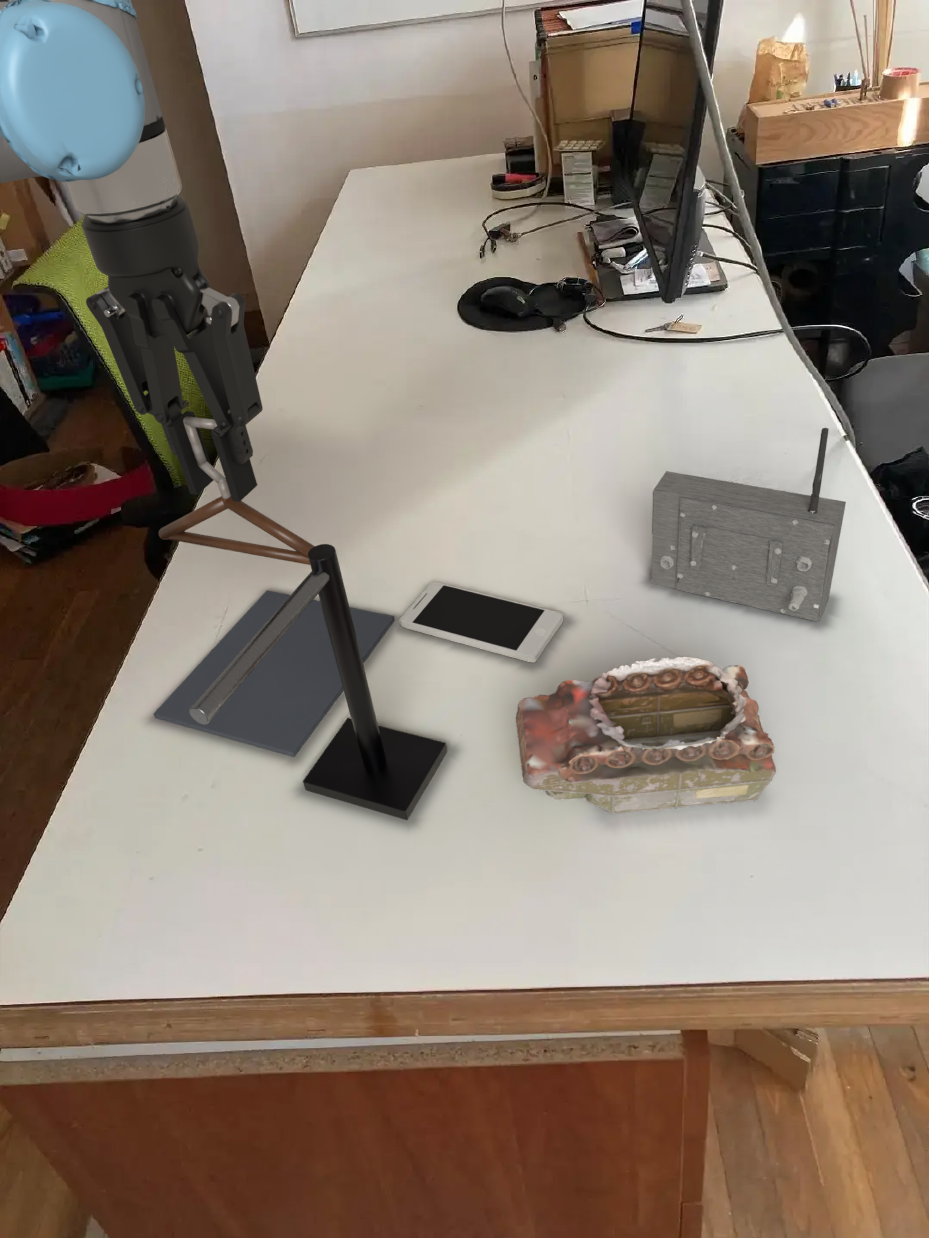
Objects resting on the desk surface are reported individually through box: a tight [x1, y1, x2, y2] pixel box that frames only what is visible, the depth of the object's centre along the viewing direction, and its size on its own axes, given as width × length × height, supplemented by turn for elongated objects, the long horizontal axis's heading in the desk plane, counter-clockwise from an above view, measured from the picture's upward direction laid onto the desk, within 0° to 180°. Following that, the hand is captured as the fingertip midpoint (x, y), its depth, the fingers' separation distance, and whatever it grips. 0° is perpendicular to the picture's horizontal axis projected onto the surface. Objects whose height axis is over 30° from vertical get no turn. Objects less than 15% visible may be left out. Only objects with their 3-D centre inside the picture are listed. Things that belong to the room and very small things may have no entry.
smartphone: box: [399, 581, 564, 663], centre depth 95 cm, size 7×15×1 cm, turn 62°
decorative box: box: [515, 656, 777, 815], centre depth 73 cm, size 13×20×10 cm, turn 86°
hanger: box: [158, 416, 316, 566], centre depth 80 cm, size 19×1×14 cm, turn 66°
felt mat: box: [153, 590, 396, 758], centre depth 93 cm, size 16×20×1 cm
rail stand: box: [189, 543, 448, 821], centre depth 70 cm, size 20×10×24 cm, turn 156°
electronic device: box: [650, 427, 847, 622], centre depth 88 cm, size 17×7×20 cm, turn 61°
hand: (223, 489), depth 80 cm, fingers closed on hanger, 4 cm apart
